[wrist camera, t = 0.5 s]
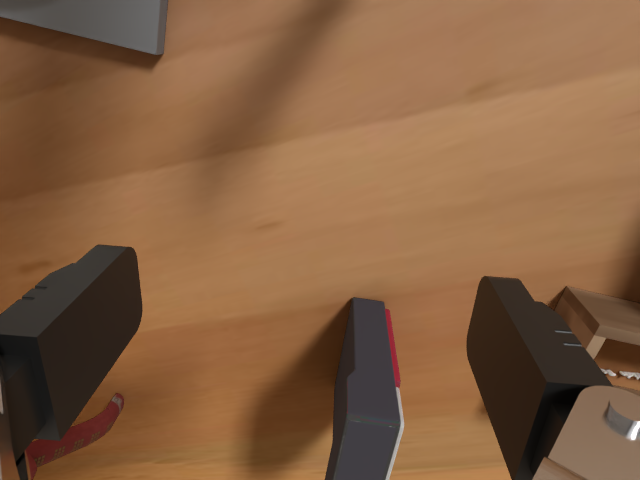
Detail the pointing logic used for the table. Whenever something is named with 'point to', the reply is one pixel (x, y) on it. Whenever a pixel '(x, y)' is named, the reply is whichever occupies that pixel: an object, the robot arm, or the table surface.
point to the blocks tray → (600, 319)
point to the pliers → (74, 437)
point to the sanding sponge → (366, 397)
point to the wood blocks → (622, 373)
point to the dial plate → (97, 20)
